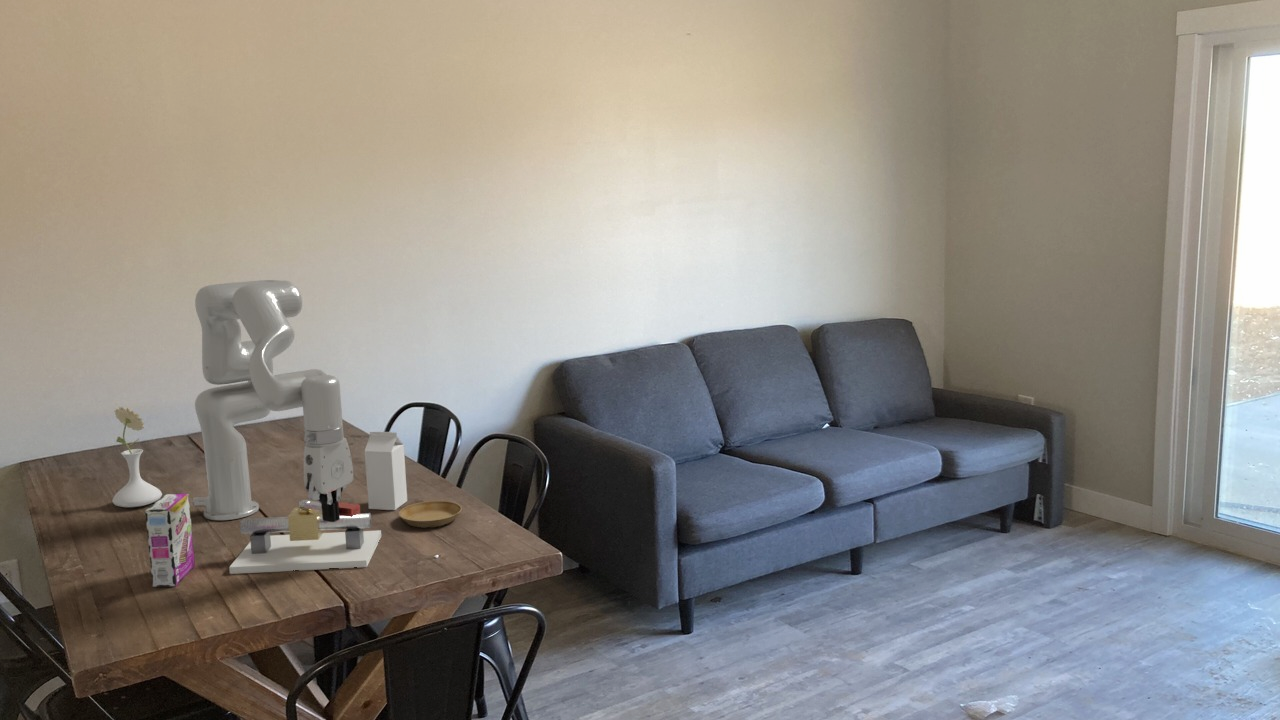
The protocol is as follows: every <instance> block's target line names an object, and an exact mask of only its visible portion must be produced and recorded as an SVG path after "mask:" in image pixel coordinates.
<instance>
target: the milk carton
mask: <svg viewBox="0 0 1280 720" xmlns="http://www.w3.org/2000/svg"><path fill="white" fill-rule="evenodd" d="M364 461H365V462H364V463H365V475H366V489H367V492H366V493H367V502H368V509H369V510H381V511H382V510H385V511H396V510H398V508H400V507H401V506H402V505H404V504H405V503H407V502H408V490H407V489H408V487H407V477H406V476H407V475H406V473H407V472H406V463H405V462H406V458H405V445H404V443H403V442H402V441H401V439H400V438H399V437H398V432H395V431H373V430H371V431H369V437H368V440H367V443H366V446H365V448H364Z"/></svg>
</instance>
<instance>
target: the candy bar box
mask: <svg viewBox="0 0 1280 720" xmlns="http://www.w3.org/2000/svg"><path fill="white" fill-rule="evenodd" d="M144 512H145V522H146V533H147V534H146V535H147V543H148V545H147V546H148V552H149V562H150V563H149V564H150V572H151V574H150V575H151V580H152V581H151V582H152V583H151V584H152V588H174V587H177V586H178V585H179V583H180V582H182V580H184V579H185V577H186V576H187V575H188V574H189V573H190V572H191V571H192V569H194V568H195V566H196V564H195V563H196V562H195V552H194V542H193V532H192V531H193V530H192V516H191V507H190V495H189V493H173V494H172V493H169V494H168V493H167V494H165V495H163V496H161V498H160V499H158V500H157V501H155V502H154V504H153V503H152V505H150V507H148V508H147V509H146V510H144Z"/></svg>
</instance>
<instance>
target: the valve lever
mask: <svg viewBox="0 0 1280 720" xmlns="http://www.w3.org/2000/svg"><path fill="white" fill-rule="evenodd" d="M338 504H339V515H340V516H347V517H353V516H355V515H357V514H361V504H356V503H351V502H350V503H349V502H343V501H338ZM298 507H299V508H301V509H305V508H307V509H315V510H322V505H321V503H319V501H317V500H310V499H302V500H299V501H298Z"/></svg>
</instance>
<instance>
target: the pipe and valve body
mask: <svg viewBox="0 0 1280 720" xmlns="http://www.w3.org/2000/svg"><path fill="white" fill-rule="evenodd" d="M339 517H340V519H339V520H337V521H335V522H329V521H324V520H323V517H322V510H315V509H307V508H305V509H301V508H299V506H297V507H293V509H292V510H291V512H290V513H289V514H288V516H278V517H277V516H276V517H256V518H241V520H240V524H239V529H240V533H241V534H242V535H245V534H248V535H249V534H250V535H249V539H250V542H251V552H252V554H261V553H267V551H268V550H269V549H270V547H271V539H270V536H271V534H272V533H288V532H289V534H288V535H290V541H301V540H319V538H320V537H321V535H322V534H323V533H325V531H331V530H333V531H335V530H345V531H344V532H345V537H346V549H361V547H362V545H363V543H364V535H363V531H364V529H371V526H372V514H371V512H368V513H367V512H365V513H361V512H360V513H359V514H357V515H355V516H353V517H347V516H340V515H339ZM250 542H249V543H250Z"/></svg>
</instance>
